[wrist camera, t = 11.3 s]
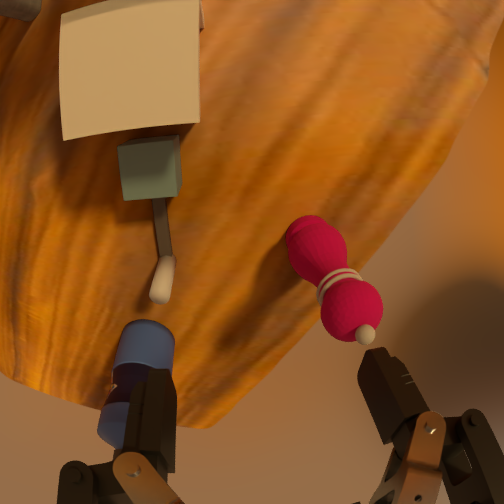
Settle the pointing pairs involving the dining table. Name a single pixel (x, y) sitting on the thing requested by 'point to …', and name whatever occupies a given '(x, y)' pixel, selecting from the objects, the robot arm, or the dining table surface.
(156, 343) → the water bottle
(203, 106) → the dining table surface
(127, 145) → the grey block with handle
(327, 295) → the pepper mill
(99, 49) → the shelf
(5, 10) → the hip flask
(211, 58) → the dining table surface
